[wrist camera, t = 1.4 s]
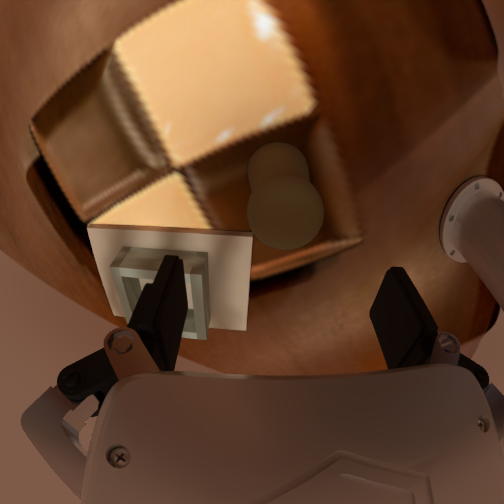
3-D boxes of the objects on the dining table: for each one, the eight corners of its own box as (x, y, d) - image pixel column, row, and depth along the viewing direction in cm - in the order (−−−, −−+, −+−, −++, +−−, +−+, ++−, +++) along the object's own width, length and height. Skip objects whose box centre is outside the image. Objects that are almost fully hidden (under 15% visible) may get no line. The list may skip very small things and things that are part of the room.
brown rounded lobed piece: (276, 210, 29) (283, 278, 19) (234, 171, 26) (218, 224, 17) (320, 173, 26) (353, 226, 17) (278, 129, 24) (290, 157, 15)
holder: (252, 232, 30) (251, 259, 26) (246, 325, 38) (244, 353, 34) (90, 224, 30) (70, 245, 26) (116, 310, 38) (104, 334, 34)
